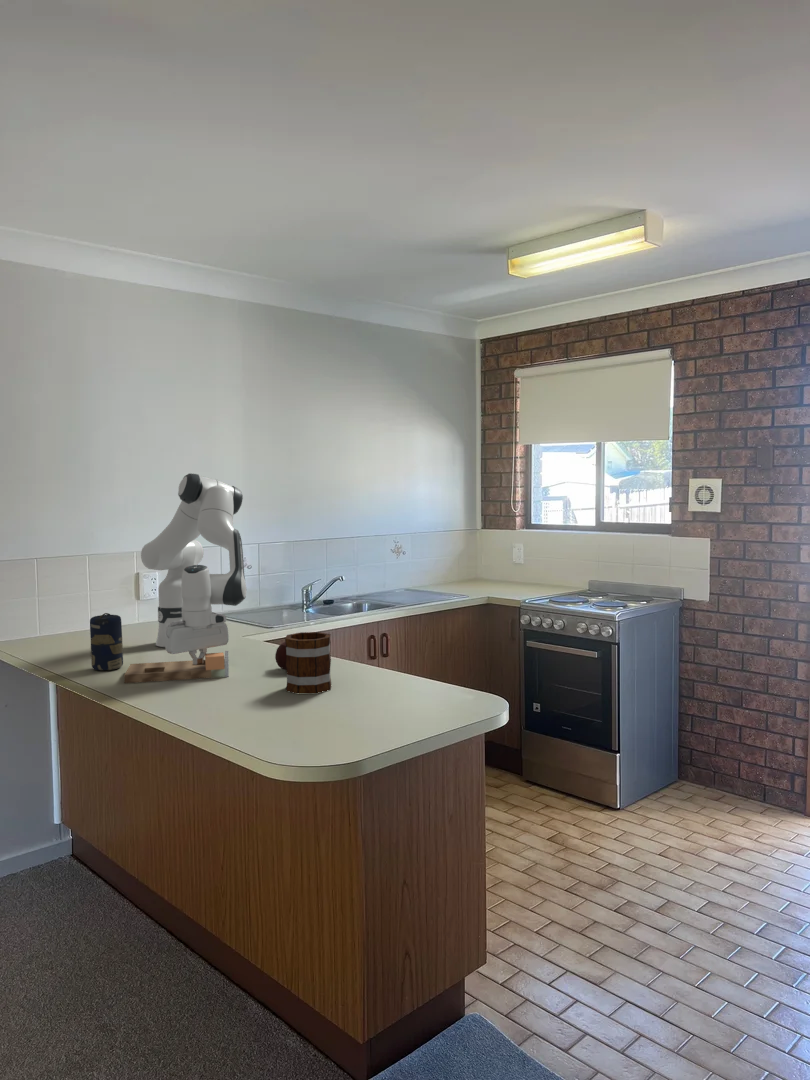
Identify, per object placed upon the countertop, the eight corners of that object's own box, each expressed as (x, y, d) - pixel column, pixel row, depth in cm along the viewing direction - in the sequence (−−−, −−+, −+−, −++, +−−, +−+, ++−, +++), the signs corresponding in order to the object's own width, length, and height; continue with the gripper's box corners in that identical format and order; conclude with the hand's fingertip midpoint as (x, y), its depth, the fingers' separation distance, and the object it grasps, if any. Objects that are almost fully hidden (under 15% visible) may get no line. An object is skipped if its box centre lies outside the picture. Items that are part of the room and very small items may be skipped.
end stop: (225, 677, 239) (224, 660, 239) (225, 666, 254) (225, 650, 254) (228, 676, 239) (228, 660, 239) (228, 666, 254) (228, 650, 254)
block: (205, 670, 237) (205, 657, 237) (205, 666, 243) (205, 653, 243) (224, 668, 239) (224, 655, 239) (223, 665, 244) (223, 652, 244)
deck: (124, 683, 233) (124, 674, 233) (130, 671, 248) (130, 663, 248) (225, 677, 239) (224, 668, 239) (225, 666, 254) (225, 658, 254)
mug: (319, 696, 216) (318, 641, 215) (276, 692, 221) (275, 639, 220) (349, 679, 234) (348, 629, 233) (308, 676, 239) (307, 627, 238)
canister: (129, 666, 255) (127, 611, 254) (107, 673, 246) (105, 616, 245) (107, 664, 259) (105, 610, 258) (84, 670, 250) (82, 614, 249)
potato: (293, 665, 255) (292, 636, 254) (312, 671, 245) (311, 642, 245) (269, 669, 249) (268, 640, 249) (287, 675, 240) (287, 645, 239)
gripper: (171, 624, 230) (173, 671, 231) (230, 615, 245) (232, 659, 246) (160, 622, 235) (162, 668, 235) (219, 614, 249) (220, 657, 250)
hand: (198, 663), depth 241 cm, fingers closed
